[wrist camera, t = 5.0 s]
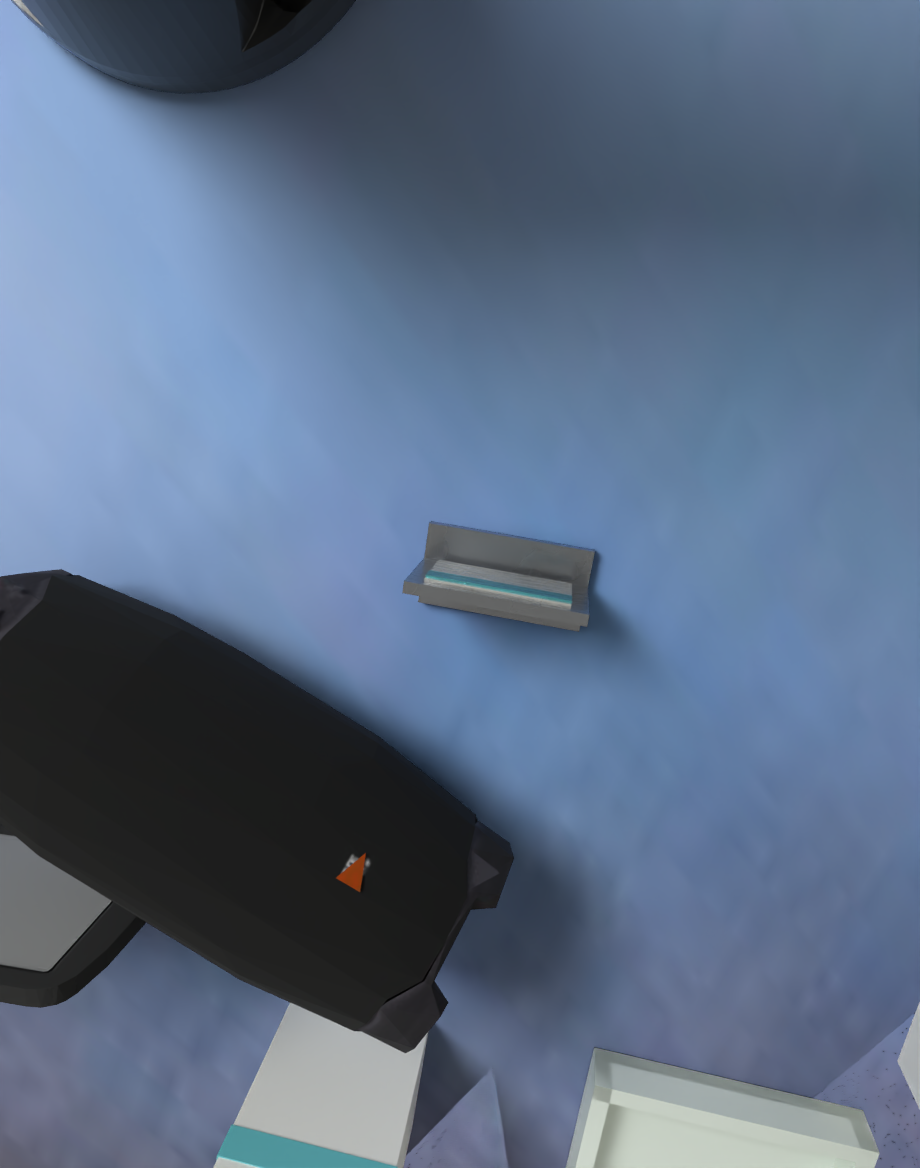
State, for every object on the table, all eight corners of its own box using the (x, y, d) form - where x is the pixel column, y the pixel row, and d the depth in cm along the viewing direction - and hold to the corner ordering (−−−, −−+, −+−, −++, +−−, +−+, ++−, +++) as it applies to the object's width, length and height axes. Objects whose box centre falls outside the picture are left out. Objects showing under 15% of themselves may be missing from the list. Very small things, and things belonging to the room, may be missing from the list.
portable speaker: (538, 873, 24) (-19, 533, 24) (375, 1140, 24) (-181, 799, 24) (519, 797, 33) (108, 546, 33) (399, 994, 33) (-12, 743, 33)
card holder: (431, 521, 29) (409, 541, 26) (594, 549, 29) (597, 575, 25) (420, 599, 30) (397, 630, 26) (578, 628, 30) (579, 664, 26)
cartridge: (296, 985, 35) (191, 1210, 26) (431, 1017, 35) (376, 1259, 25) (283, 1094, 37) (180, 1345, 27) (413, 1127, 36) (354, 1395, 27)
